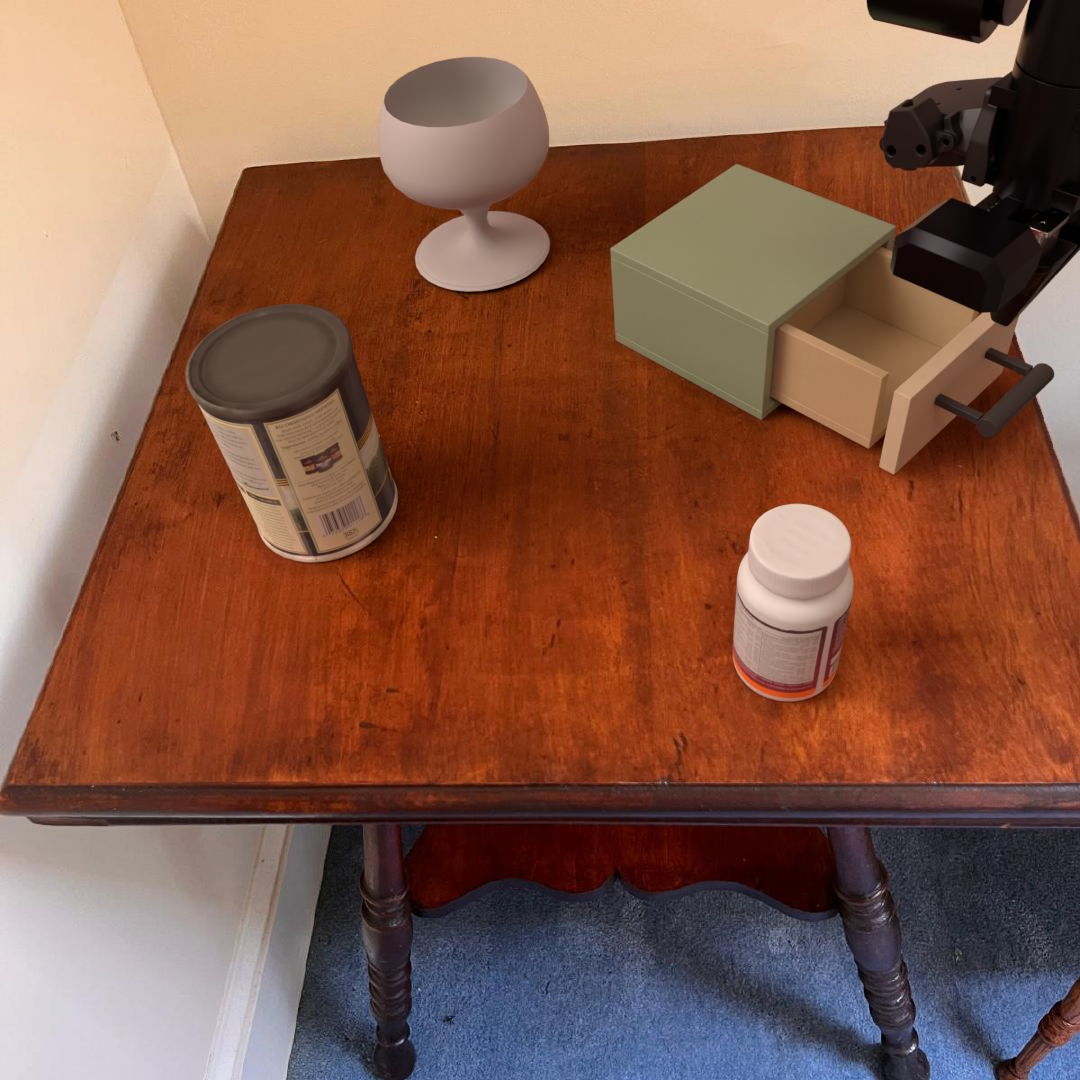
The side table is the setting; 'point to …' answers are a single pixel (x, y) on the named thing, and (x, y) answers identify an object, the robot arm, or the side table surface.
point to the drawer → (895, 362)
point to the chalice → (468, 166)
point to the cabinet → (733, 278)
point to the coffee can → (296, 429)
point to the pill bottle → (792, 602)
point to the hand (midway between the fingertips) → (1002, 321)
